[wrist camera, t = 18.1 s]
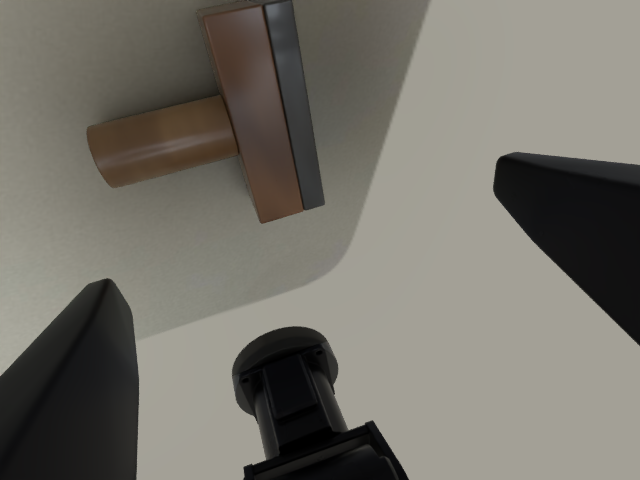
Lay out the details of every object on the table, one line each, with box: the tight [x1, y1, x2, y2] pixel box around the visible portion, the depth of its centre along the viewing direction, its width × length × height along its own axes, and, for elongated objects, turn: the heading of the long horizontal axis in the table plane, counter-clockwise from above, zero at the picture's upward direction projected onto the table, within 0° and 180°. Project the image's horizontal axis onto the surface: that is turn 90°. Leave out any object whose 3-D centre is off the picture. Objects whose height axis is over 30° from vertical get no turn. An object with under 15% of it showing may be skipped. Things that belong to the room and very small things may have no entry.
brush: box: [87, 0, 325, 224], centre depth 16 cm, size 8×3×8 cm
